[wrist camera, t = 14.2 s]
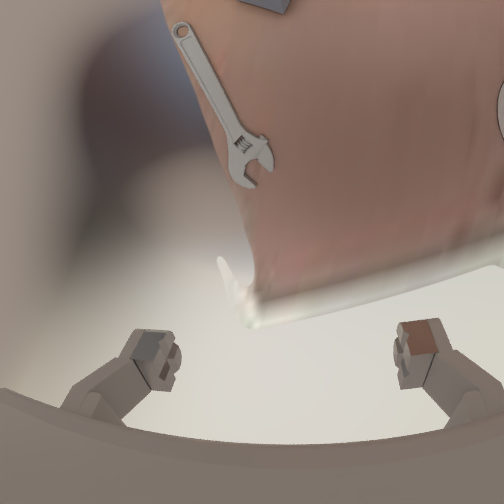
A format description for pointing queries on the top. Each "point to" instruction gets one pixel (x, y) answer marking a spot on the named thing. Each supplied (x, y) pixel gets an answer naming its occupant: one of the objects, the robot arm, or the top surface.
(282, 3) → the collar
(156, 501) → the robot arm
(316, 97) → the top surface
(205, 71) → the adjustable wrench
